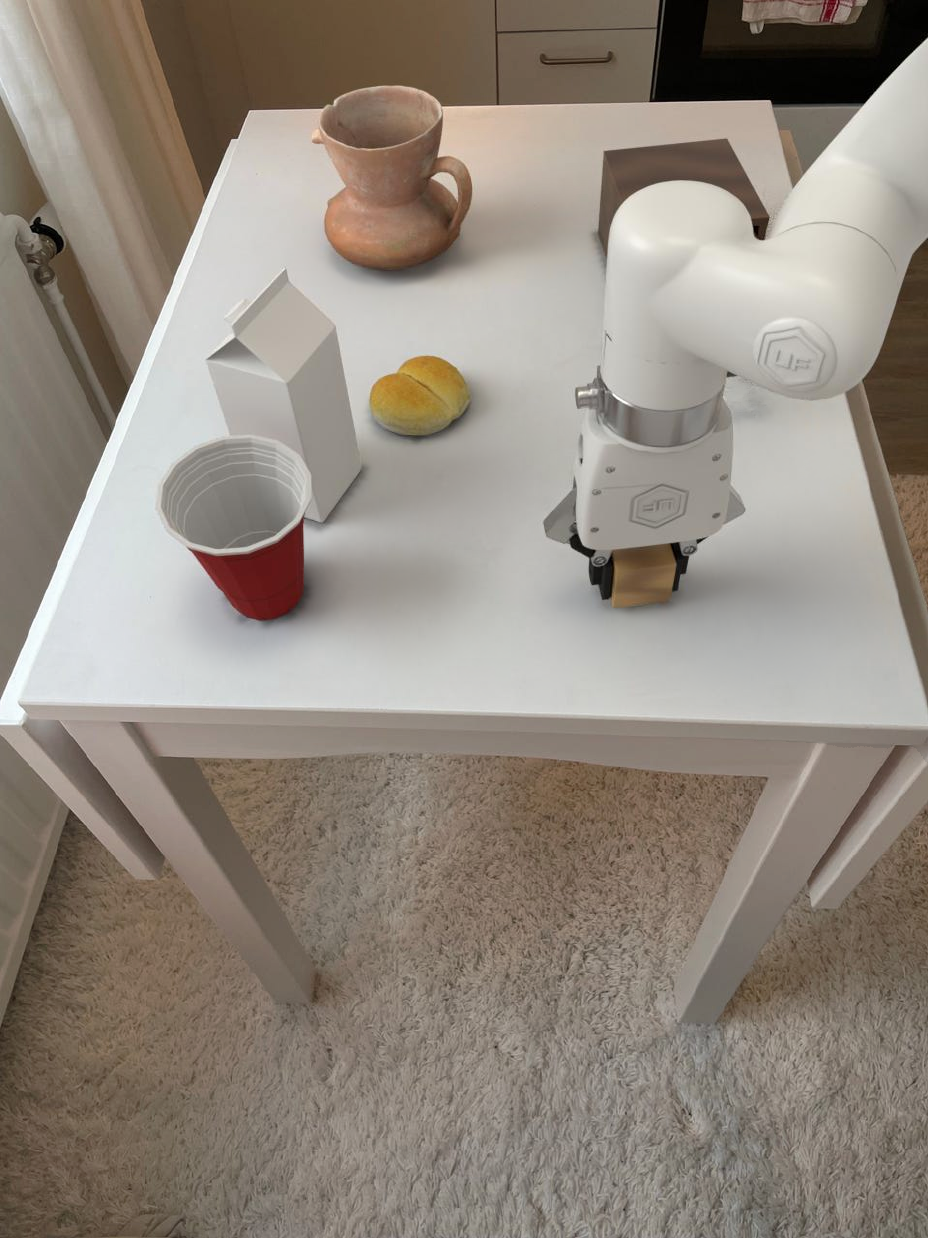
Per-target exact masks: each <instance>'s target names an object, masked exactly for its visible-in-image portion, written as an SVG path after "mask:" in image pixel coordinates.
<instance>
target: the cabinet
mask: <svg viewBox="0 0 928 1238" xmlns="http://www.w3.org/2000/svg"><path fill="white" fill-rule="evenodd" d="M602 154H603V156H602V168H601V182H600V183H601V184H600V198H599V213H598V225H597V226H598V228H597V235H598V238H599V241H600V244H601V247H602V250H603V252H604V256H605V258H606V260H607V253H608V240H609V232H610V227H611V224H612V221H613V218H614V216H615V214H616V212H617V210H618V209H619V207H620V206H621V205H622V203H623V202H624V201H625V200H626V199H627V198H628V197H630V196H631V195H632V194H634V193H636V192H637V191H639V190H641V189H643V188H646V187H648V186H650V185H654V184H657V183H661V182H668V181H678V180H686V181H697V182H704V183H708V184H712V185H715V186H717V187H720V188H722V189H724V190H726V191H728V192H729V193H731V194H732V195H734V196H735V197H737V198H738V199H739V200H740V201H741V202H742V203H743V204H744V206H745V207H746V209H747V211H748V213H749V215H750V217H751V221H752V226H753V230H754V232H755V234H756V236H757V238H758V240H764V239H765V237H766V235H767V231H768V225H769V222H770V218H771V216H770V214H769V213H768V211H767V209H766V207H765V206H764V204H763V202H762V199H761V198H760V196H759V195H758V192H757V191H756V189H755V187H754V185H753V183H752V181H751V179H750V178H749V175H747V173H746V170H745V168H744V167H743V165H742V162H741V161H740V159H739V158H738V156H737V154H736V152H735V150H734V148H733V146H732V145H731V143H730V141H729V139H728V138H727V137H726V138H716V139H707V140H697V141H687V142H686V141H685V142H678V143H668V144H658V145H647V146H637V147H629V148H619V149H617V148H616V149H609V150H603V153H602Z"/></svg>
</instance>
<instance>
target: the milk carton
mask: <svg viewBox="0 0 928 1238" xmlns="http://www.w3.org/2000/svg"><path fill="white" fill-rule="evenodd" d="M223 319H224V321H225V322H226V323H227V324H229V326H230V327H231V330H232V331H230V333H229V334H228V335H227V336H226V337H225V338H224V339H223V340H222V341H221V342H220V344H218V345H217V346H216V348H215V349H214V350H213V351H212V352H211V353H210V354H209V355H208V356H207V357H206V359H205V362H206V366H207V369H208V372H209V375H210V379H211V381H212V384H213V387H214V389H215V390H214V391H215V394H216V396H217V400H218V403H219V405H220V409H221V412H222V415H223V418H224V421H225V424H226V428H227V430H228V434H229V436H236V435H256V436H260V437H265V438H269V439H273V440H277V441H280V442H281V443H283V444H284V445H286V446H287V447H289V448H290V449H292V450H293V451H295V452H296V453H298V454H299V455H300V456H301V458H302V460H303V461H304V463H305V465H306V467H307V468H308V470H309V472H310V474H311V502H310V503H309V505H308V507H307V509H306V511H305V515H304V519H305V518H306V519H309V520H312V521H315V522H318V523H324V522H325V521H326V520H327V518H328V517H329V515H330V514H331V512H332V511H333V510H334V508H335V507H336V506H337V504H338V503H339V501H340V500H341V499H342V497H343V495H344V494H345V493H346V492H347V490H348V489H349V488H350V486H351V484H352V483H354V480H355V479H356V478H357V476H358V475H359V474H360V472H361V471H362V461H361V456H360V449H359V446H358V445H359V444H358V439H357V434H356V429H355V423H354V419H353V413H352V407H351V402H350V398H349V397H350V396H349V392H348V386H347V381H346V375H345V370H344V365H343V359H342V354H341V349H340V342H339V337H338V332H337V327H336V324H335V323H334V321H332V320H331V319H330V318H329V317H328V316H327V315H326V314H325V313H323V311H321V309H320V308H318V307H317V305H315V304H314V303H313V302H312V301H311V300H310V299H309V298H308V297H307V296H306V295H304V294H303V292H302V291H300V289H299V288H297V286H295V285H294V284H293V283H292V282H291V281H290V279H289V276H288V269H287V268H286V267H282V268H281V269H280V270H279V272H278V273H277V274H276V275H275V276H274V277H273V278H272V279H271V280H270V281H269V282H268V283H267V284H266V285H265V286H264V288H263V289H262V290H261V291H259V292H258V294H257V295H256V296H255V297H254V298H253V299H252V301H249V299H247V297H244V298H242V299H240V300H239V301H238V302H237V303H236V304H235V305H234V306H232V308H231V309H229V311H228V312H226V314H225V315H224V317H223Z"/></svg>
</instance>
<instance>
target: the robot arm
mask: <svg viewBox="0 0 928 1238" xmlns="http://www.w3.org/2000/svg"><path fill="white" fill-rule="evenodd" d="M767 231H768V232H766V235H765V239H764V240H758V239H756V238H755V237H754V234H753V226H752V221H751V217H750V215H749V213H748V211H747V209H746V207H745V206H744V204H743V203H742V202H741V201H740V200H739V199H738V198H737V197H735V196H734V195H732V194H731V193H729V192H728V191H726V190H724V189H722V188H720V187H717V186H715V185H712V184H708V183H704V182H697V181H686V180H678V181H668V182H661V183H657V184H654V185H650V186H648V187H646V188H643V189H641V190H639V191H637V192H636V193H634V194H632V195H631V196H630V197H628V198H627V199H626V200H625V201H624V202H623V203H622V205H621V206H620V207H619V209H618V210H617V212H616V214H615V216H614V218H613V221H612V224H611V227H610V232H609V240H608V253H607V259H606V270H605V284H604V285H605V287H604V300H603V301H604V302H603V304H604V305H603V317H602V334H601V335H602V337H601V350H600V365H597V366H596V377H594V379H593V381H592V382H589V383H586V385H584V386H575V390H574V398H575V405H576V408H577V409H578V410H582V409H587V410H586V413H585V415H584V419H583V422H582V425H581V427H580V428H581V429H580V432H579V436H578V439H577V444H576V450H575V453H574V454H575V455H574V462H573V467H572V476H571V486H570V491H569V493H568V494H567V495H566V496H565V497H564V498H563V499H562V500H561V501H560V502H559V503H558V504H557V505H556V506H555V508H554V509H552V511H551V512H550V513H549V514H548V515H547V516H546V517H545V518H544V519H543V521H542V522H543V523H542V524H543V529H544V533H545V536H546V538H548V539H549V540H552V541H554V542H557V543H561V544H563V545H569V546H570V549H572V550H574V551H576V552H577V553H579V554H581V555H583V556H585V557H586V558H588V567H587V568H588V578H589V582H590V585H591V586H598V589H599V592H600V597H601V601H607V600H608V601H609V600H610V597H611V595H612V585H613V575H614V564H613V561H612V557H611V553H612V551H613V550H615V549H625V548H634V547H642V546H651V545H659V544H667V543H670V545H671V548H672V551H673V554H674V557H675V561H676V564H677V565H676V570H675V576H674V581H673V587H672V593H673V592H679V587H680V582H681V576H683V575H686V574H687V570H688V565H689V561H690V556H693V555H694V554H696V553H697V552H698V549H699V548H698V545H699V544H700V543H702V542H704V541H705V540H706V539H708V538H709V537H711V536H713V535H715V534H717V533H718V532H719V531H720V530H721V529H722V528H723V526H725V525H726V524H728V523H730V522H731V521H733V520H735V519H737V518H739V517H741V516H742V515H744V514H745V513H746V510H747V509H746V507H745V504H744V502H743V498H742V497H741V495H740V493H739V492H737V490H736V489H735V488H734V487H733V486H732V484H731V483H732V473H733V459H734V458H733V455H734V425H733V414H732V411H731V409H730V408H729V406H728V404H727V403H726V401H725V399H724V393H725V388H726V383H727V377H726V376H727V371H729V372H731V373H733V374H735V375H737V376H736V377H739V378H741V379H742V380H745V381H747V382H749V383H750V384H753V385H755V386H756V387H759V388H762V389H764V390H766V391H769V392H771V393H774V394H776V395H780V396H782V397H785V398H790V399H795V400H803V401H822V400H828V399H832V398H835V397H838V396H840V395H842V394H845V393H847V392H849V391H850V390H851V389H853V388H854V387H855V386H857V385H858V384H859V383H860V382H862V380H864V378H865V377H866V376H867V374H869V372H870V371H871V369H872V367H873V366H874V365H875V362H876V361H877V358H878V357H879V354H880V351H881V349H882V346H883V345H884V340H885V338H886V335H887V331H888V328H889V325H890V323H891V319H892V317H893V314H894V311H895V307H896V304H897V301H898V297H899V294H900V291H901V288H902V285H903V282H904V278H905V275H906V273H907V270H908V268H909V264H910V263H911V259H912V257H913V255H914V253H915V252H916V251H917V250H918V248H919V247H920V246H921V245H922V244H923V243H924V242H925V241H926V240H927V239H928V37H927V38H925V40H924V41H922V42H921V44H920V45H918V47H916V48H915V50H913V52H911V53H910V54H909V55H908V56H907V57H906V58H905V59H904V60H903V61H902V62H901V63H900V65H899V66H898V67H897V68H896V69H895V70H894V71H893V72H892V73H891V74H890V75H889V76H888V77H887V78H886V79H885V80H884V81H883V82H882V83H881V85H879V87H878V88H877V89H876V91H874V92H873V94H872V95H870V97H869V99H867V101H866V102H865V103H864V104H863V105H862V106H861V108H859V109H858V111H857V112H856V113H855V114H854V115H853V117H852V118H851V119H850V120H849V121H848V122H847V123H846V125H845V126H844V127H843V128H842V129H841V130H840V131H839V133H838V134H837V135H836V136H835V137H834V138H833V140H832V141H830V143H829V144H828V146H826V147H825V149H824V150H823V151H822V152H821V153H820V155H819V156H818V157H817V158H816V159H815V161H814V162H813V163H812V164H811V165H810V167H809V168H808V169H807V170H806V172H804V174H803V175H802V176H801V178H800V179H799V180H798V182H797V183H796V184H795V185H794V187H793V188H792V190H791V191H790V192H789V194H788V195H787V197H786V198H785V200H784V202H783V203H782V205H781V207H780V208H779V211H778V212H777V214H776V216H775V217H774V220H773V221H772V223H771V225H770V227H769V229H768V230H767Z"/></svg>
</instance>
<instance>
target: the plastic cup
mask: <svg viewBox="0 0 928 1238" xmlns="http://www.w3.org/2000/svg"><path fill="white" fill-rule="evenodd" d="M310 502H311V474H310V472H309V470H308V468H307V467H306V465H305V463H304V461H303V460H302V458H301V456H300V455H299V454H298V453H296V452H295V451H293V450H292V449H290V448H289V447H287V446H286V445H284V444H283V443H281V442H280V441H277V440H273V439H269V438H265V437H260V436H256V435H236V436H230V435H224V436H223V435H222V436H219V437H216V438H214V439H211V440H209V441H205V442H203V443H200V444H197V445H194V446H193V447H192V448H190V449H189V450H188V451H186V452H185V453H184V454H182V455H181V456H180V457H179V458H177V459H176V460H174V461H173V462H172V463H171V464H170V466H169V467H168V469H167V470H166V472H165V473H164V475H163V477H162V478H161V480H160V481H159V483H158V484H157V492H156V502H155V510H156V512H157V515H158V517H159V520H160V521H161V524H162V526H163V528H164V531H165V532H167V534H169V535H170V536H171V537H173V538H174V539H176V541H178V542H179V543H181V544H182V545H184V546H185V548H187V550H188V551H190V552H191V553H192V554H193V556H194V557H195V559H196V560H197V562H198V563H199V564H200V566H201V567H202V569H204V571H205V572H206V574H207V575H208V576H209V578H210V579H211V581H212V582H213V583H214V585H215V586H216V587H217V589H219V591H221V592H222V593H223V595H224V596H225V597H226V599H227V600H228V602H229V603H230V605H231V606H232V608H234V609H235V610H236V611H238V612H239V613H240V614H241V615H243V616H244V617H246V618H248V619H253V620H257V621H266V620H274V619H277V618H279V617H281V616H284V615H286V614H288V613H290V611H292V610H293V609H294V608H295V607H296V606H297V605H298V604H299V602H300V600H301V598H302V596H303V594H304V590H305V571H304V570H305V569H304V568H305V541H304V540H305V539H304V538H305V537H304V536H305V535H304V523H305V517H304V515H305V511H306V509H307V507H308V505H309V503H310Z"/></svg>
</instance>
